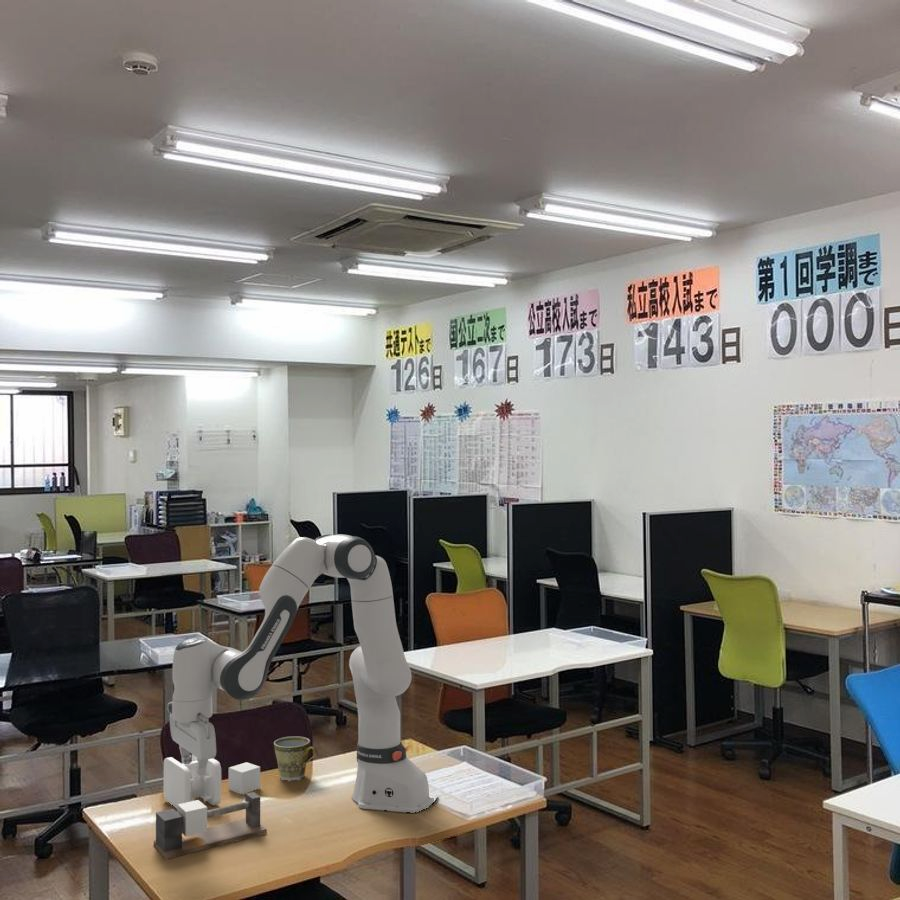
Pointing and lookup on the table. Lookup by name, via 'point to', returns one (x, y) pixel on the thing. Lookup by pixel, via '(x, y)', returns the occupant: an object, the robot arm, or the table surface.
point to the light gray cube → (244, 778)
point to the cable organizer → (191, 782)
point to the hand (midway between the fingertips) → (193, 768)
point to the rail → (178, 844)
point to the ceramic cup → (292, 756)
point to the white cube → (193, 817)
